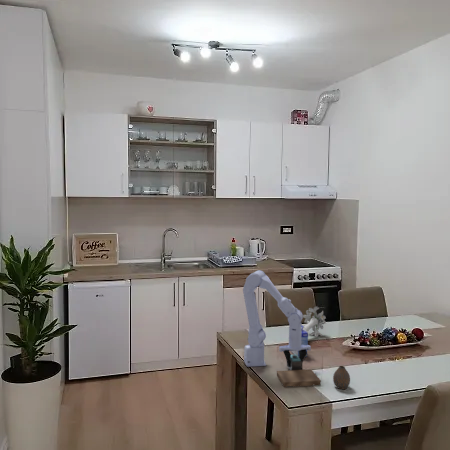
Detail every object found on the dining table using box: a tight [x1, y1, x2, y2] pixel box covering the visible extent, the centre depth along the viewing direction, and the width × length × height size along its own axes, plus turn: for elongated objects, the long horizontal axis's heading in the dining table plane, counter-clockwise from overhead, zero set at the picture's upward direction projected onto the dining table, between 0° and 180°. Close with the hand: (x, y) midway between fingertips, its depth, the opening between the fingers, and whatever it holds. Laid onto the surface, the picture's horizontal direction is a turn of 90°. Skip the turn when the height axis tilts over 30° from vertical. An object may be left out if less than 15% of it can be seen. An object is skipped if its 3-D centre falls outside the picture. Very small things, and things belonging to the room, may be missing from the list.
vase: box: [332, 365, 351, 390], centre depth 187 cm, size 7×7×9 cm
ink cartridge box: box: [290, 324, 309, 358], centre depth 225 cm, size 10×6×14 cm, turn 16°
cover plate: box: [290, 354, 301, 361], centre depth 206 cm, size 4×7×2 cm, turn 9°
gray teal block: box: [286, 355, 304, 370], centre depth 206 cm, size 5×8×5 cm, turn 8°
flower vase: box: [303, 305, 327, 338], centre depth 250 cm, size 13×18×25 cm
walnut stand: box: [276, 368, 322, 388], centre depth 193 cm, size 16×12×2 cm
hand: (294, 365), depth 206 cm, fingers closed on gray teal block, 5 cm apart
